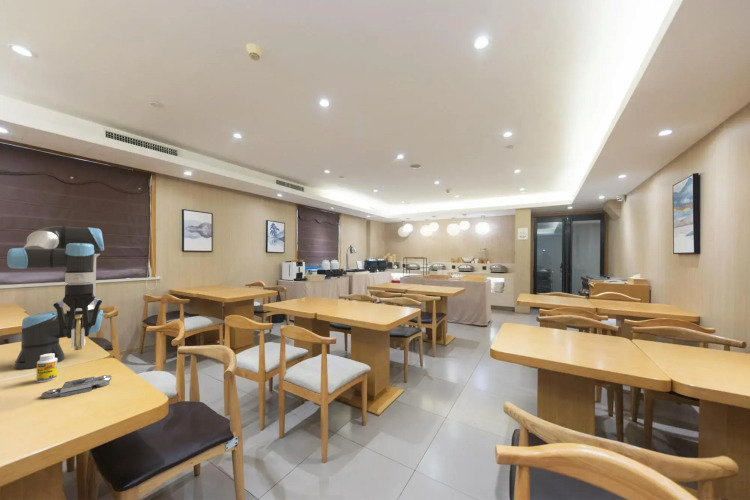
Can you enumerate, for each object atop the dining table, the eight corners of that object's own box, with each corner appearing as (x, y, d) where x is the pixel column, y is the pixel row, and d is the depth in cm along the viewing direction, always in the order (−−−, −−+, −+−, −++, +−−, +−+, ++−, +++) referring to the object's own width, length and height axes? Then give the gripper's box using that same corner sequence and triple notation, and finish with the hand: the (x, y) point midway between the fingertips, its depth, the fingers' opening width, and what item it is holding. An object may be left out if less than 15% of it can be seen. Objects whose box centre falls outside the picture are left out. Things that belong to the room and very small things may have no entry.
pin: (73, 349, 109) (73, 315, 109) (84, 347, 111) (85, 314, 111) (71, 351, 106) (72, 316, 107) (83, 349, 108) (83, 315, 109)
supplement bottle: (33, 384, 113) (34, 358, 113) (39, 378, 118) (40, 353, 118) (54, 380, 116) (54, 355, 116) (59, 375, 121) (59, 351, 121)
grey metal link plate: (44, 393, 106) (44, 384, 106) (112, 379, 117) (112, 371, 117) (38, 401, 100) (38, 392, 100) (110, 386, 111) (110, 378, 111)
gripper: (47, 285, 101) (45, 352, 101) (105, 283, 111) (104, 344, 110) (52, 284, 107) (51, 347, 107) (107, 281, 117) (106, 339, 116)
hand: (78, 345), depth 109 cm, fingers closed on pin, 2 cm apart
